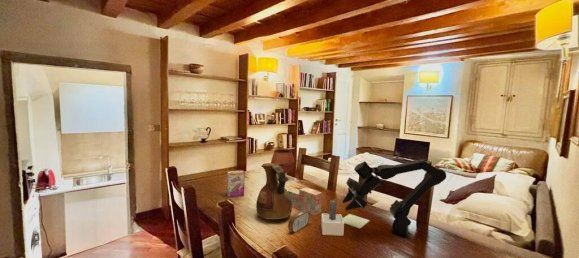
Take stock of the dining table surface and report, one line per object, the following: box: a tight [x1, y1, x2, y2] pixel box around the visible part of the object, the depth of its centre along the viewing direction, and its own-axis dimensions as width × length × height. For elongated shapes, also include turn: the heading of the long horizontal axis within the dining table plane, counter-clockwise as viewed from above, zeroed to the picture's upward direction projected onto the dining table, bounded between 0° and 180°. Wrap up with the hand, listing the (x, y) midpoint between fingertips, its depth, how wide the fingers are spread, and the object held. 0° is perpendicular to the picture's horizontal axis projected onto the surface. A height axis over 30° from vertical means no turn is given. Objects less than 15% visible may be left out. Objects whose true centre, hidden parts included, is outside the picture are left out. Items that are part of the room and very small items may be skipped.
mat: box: [342, 213, 370, 229], centre depth 139 cm, size 12×12×1 cm
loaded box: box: [320, 213, 345, 237], centre depth 128 cm, size 10×10×6 cm
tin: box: [287, 210, 310, 233], centre depth 128 cm, size 15×3×8 cm, turn 141°
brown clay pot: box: [270, 148, 296, 182], centre depth 210 cm, size 19×19×25 cm
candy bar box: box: [226, 170, 246, 198], centre depth 172 cm, size 11×5×16 cm, turn 108°
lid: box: [323, 199, 342, 223], centre depth 127 cm, size 8×8×10 cm
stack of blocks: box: [287, 187, 323, 216], centre depth 154 cm, size 21×6×12 cm, turn 47°
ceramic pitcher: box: [255, 162, 293, 220], centre depth 141 cm, size 20×20×30 cm
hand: (344, 205), depth 127 cm, fingers open, 9 cm apart
